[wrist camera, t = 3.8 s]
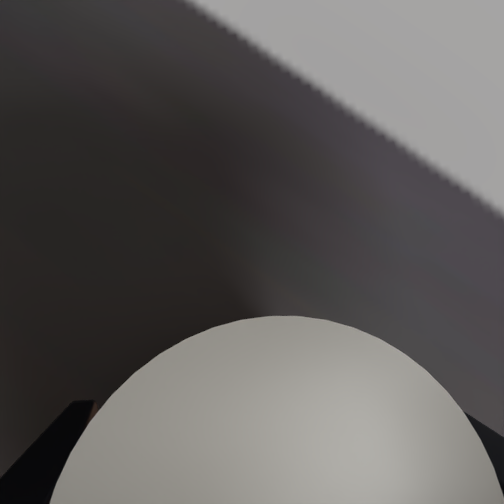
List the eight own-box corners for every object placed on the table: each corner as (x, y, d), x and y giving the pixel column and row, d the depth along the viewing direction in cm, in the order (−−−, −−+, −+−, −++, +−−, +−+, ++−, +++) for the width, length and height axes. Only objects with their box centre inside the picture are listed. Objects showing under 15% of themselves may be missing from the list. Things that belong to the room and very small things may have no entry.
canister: (297, 537, 15) (498, 889, 5) (116, 507, 14) (-40, 832, 5) (324, 355, 16) (527, 361, 6) (159, 322, 16) (108, 274, 6)
